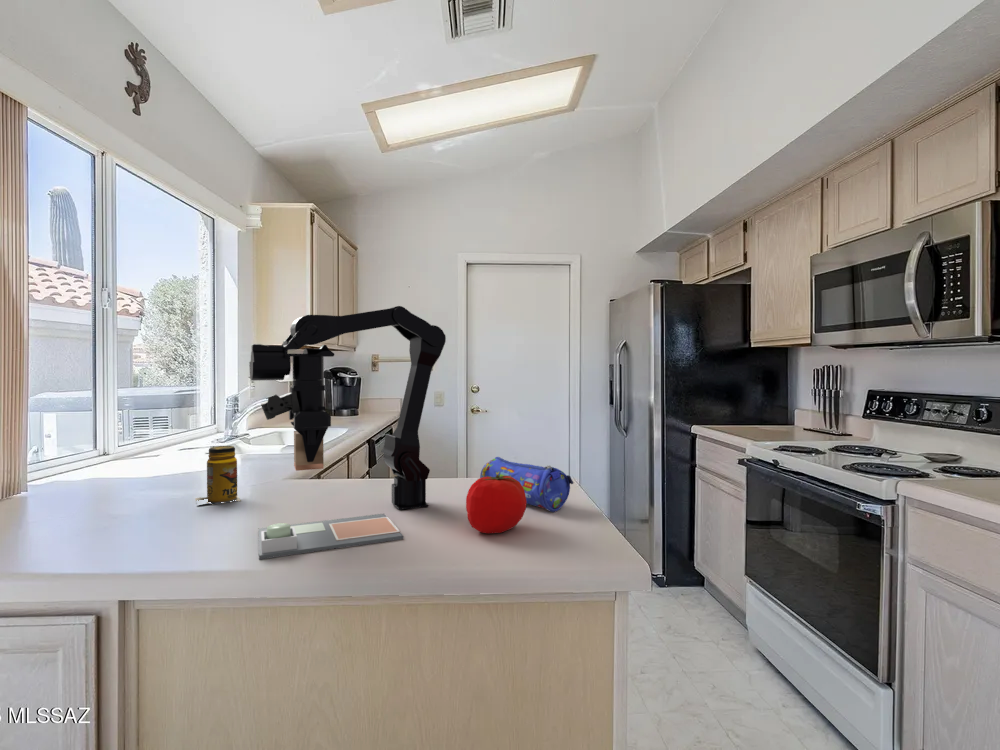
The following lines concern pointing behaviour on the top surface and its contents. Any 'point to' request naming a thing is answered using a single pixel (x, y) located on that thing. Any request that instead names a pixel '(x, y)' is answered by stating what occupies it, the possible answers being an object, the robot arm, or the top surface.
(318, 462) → the stamp
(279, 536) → the button
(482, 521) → the tomato
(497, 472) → the pencil case
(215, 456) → the condiment
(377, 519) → the picture board
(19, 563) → the top surface
